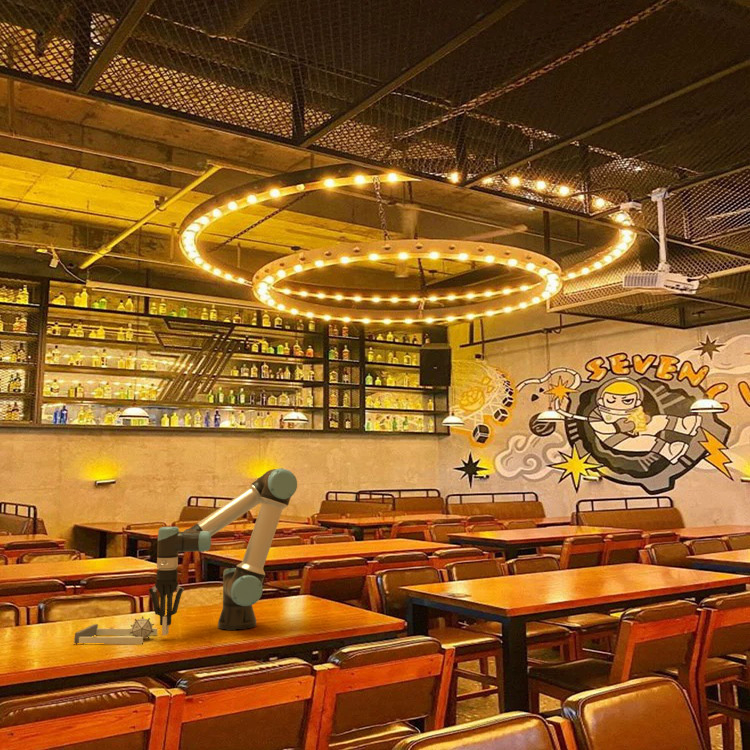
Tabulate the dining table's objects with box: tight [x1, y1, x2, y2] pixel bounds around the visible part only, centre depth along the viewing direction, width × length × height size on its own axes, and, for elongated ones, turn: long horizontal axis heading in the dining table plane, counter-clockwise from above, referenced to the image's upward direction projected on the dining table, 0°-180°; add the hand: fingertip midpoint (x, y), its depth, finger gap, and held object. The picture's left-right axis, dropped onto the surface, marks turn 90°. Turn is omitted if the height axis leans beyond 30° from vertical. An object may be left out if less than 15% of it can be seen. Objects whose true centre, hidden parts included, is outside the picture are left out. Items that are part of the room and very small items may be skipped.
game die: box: [130, 616, 155, 640], centre depth 275 cm, size 9×8×10 cm
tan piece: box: [73, 623, 158, 645], centre depth 275 cm, size 25×16×4 cm, turn 87°
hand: (165, 634), depth 274 cm, fingers closed
